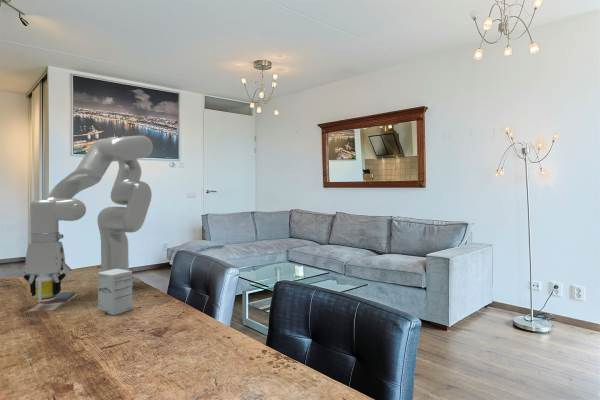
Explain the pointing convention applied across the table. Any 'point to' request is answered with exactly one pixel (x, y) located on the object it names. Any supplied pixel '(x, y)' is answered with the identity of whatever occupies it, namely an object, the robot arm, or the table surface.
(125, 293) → the supplement box
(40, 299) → the supplement bottle
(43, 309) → the stamping board
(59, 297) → the ink pad
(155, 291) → the table surface
